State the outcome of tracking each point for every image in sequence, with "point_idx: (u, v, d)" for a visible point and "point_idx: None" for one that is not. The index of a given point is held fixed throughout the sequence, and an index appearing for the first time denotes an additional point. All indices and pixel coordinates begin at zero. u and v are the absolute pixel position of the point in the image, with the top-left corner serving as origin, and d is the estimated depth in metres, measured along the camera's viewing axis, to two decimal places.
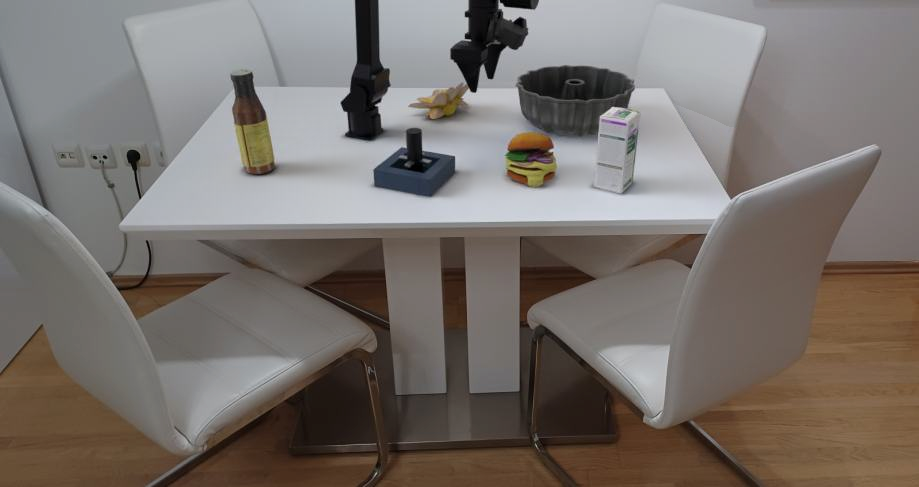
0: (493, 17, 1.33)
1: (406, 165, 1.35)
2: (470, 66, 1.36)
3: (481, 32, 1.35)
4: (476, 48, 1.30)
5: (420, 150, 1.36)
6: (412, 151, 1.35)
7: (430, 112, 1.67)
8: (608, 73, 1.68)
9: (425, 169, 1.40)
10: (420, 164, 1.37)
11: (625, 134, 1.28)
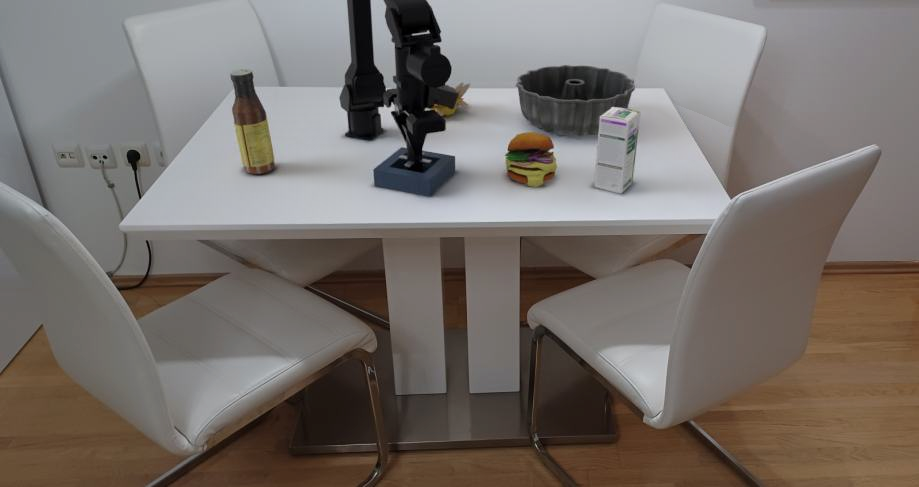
0: None
1: (406, 165, 1.35)
2: None
3: (421, 100, 1.29)
4: (441, 117, 1.25)
5: None
6: (412, 151, 1.35)
7: None
8: (608, 73, 1.68)
9: (425, 169, 1.40)
10: (420, 164, 1.37)
11: (625, 134, 1.28)
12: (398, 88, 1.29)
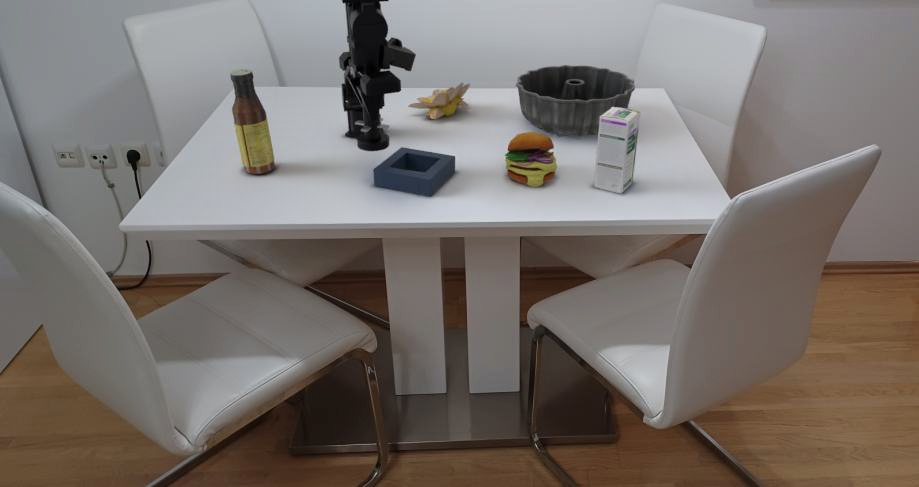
0: (386, 42, 1.25)
1: (362, 130, 1.31)
2: None
3: (376, 61, 1.25)
4: (395, 77, 1.21)
5: None
6: (368, 115, 1.31)
7: (430, 112, 1.67)
8: (608, 73, 1.68)
9: (383, 135, 1.36)
10: (377, 129, 1.33)
11: (625, 134, 1.28)
12: (352, 48, 1.25)
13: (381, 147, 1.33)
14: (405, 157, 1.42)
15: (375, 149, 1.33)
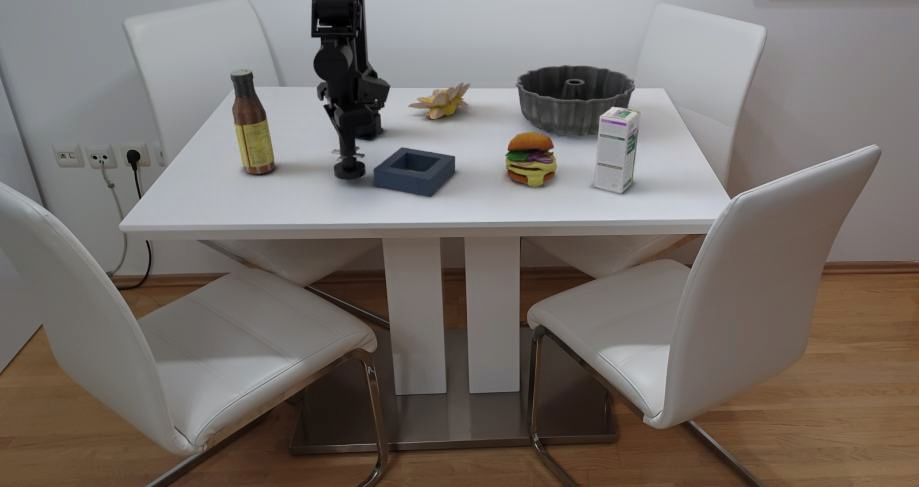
0: (360, 75, 1.27)
1: (338, 159, 1.33)
2: None
3: (350, 93, 1.27)
4: (368, 110, 1.24)
5: None
6: (344, 145, 1.33)
7: (430, 112, 1.67)
8: (608, 73, 1.68)
9: (360, 163, 1.38)
10: (353, 158, 1.35)
11: (625, 134, 1.28)
12: None
13: (357, 176, 1.35)
14: (405, 157, 1.42)
15: (351, 178, 1.35)
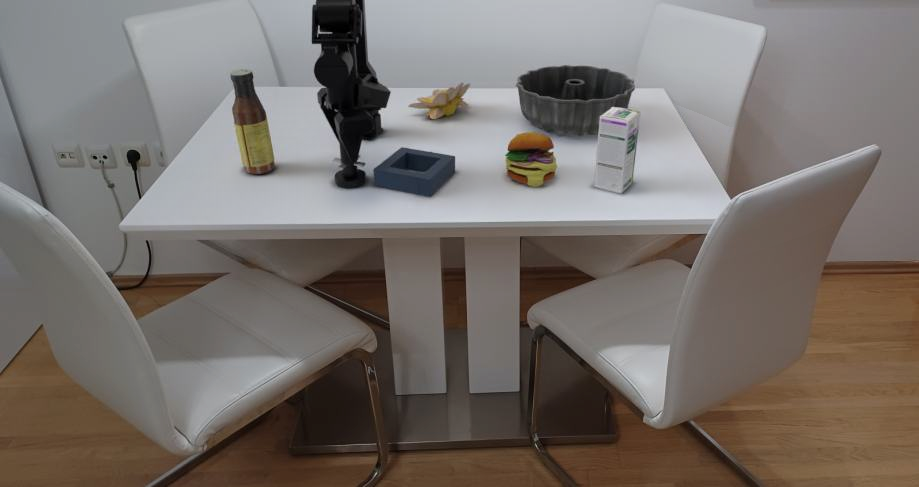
0: (361, 81, 1.27)
1: (339, 168, 1.34)
2: (352, 136, 1.28)
3: (351, 99, 1.28)
4: (368, 116, 1.24)
5: None
6: (345, 154, 1.34)
7: (430, 112, 1.67)
8: (608, 73, 1.68)
9: (360, 172, 1.39)
10: (354, 167, 1.36)
11: (625, 134, 1.28)
12: None
13: (357, 184, 1.36)
14: (405, 157, 1.42)
15: (351, 186, 1.36)
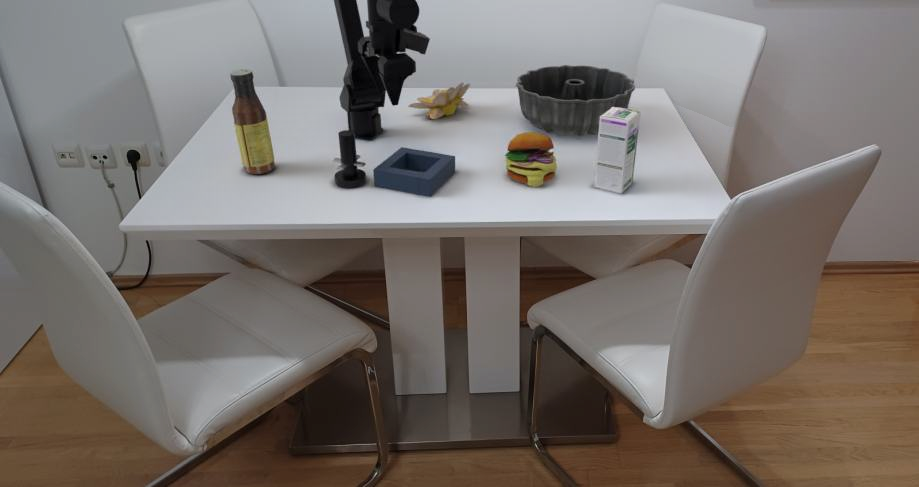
0: None
1: (339, 168, 1.34)
2: (394, 79, 1.34)
3: (393, 44, 1.34)
4: (411, 58, 1.30)
5: (353, 153, 1.35)
6: (345, 154, 1.34)
7: (430, 112, 1.67)
8: (608, 73, 1.68)
9: (360, 172, 1.39)
10: (354, 167, 1.36)
11: (625, 134, 1.28)
12: (370, 32, 1.34)
13: (357, 184, 1.36)
14: (405, 157, 1.42)
15: (351, 186, 1.36)
